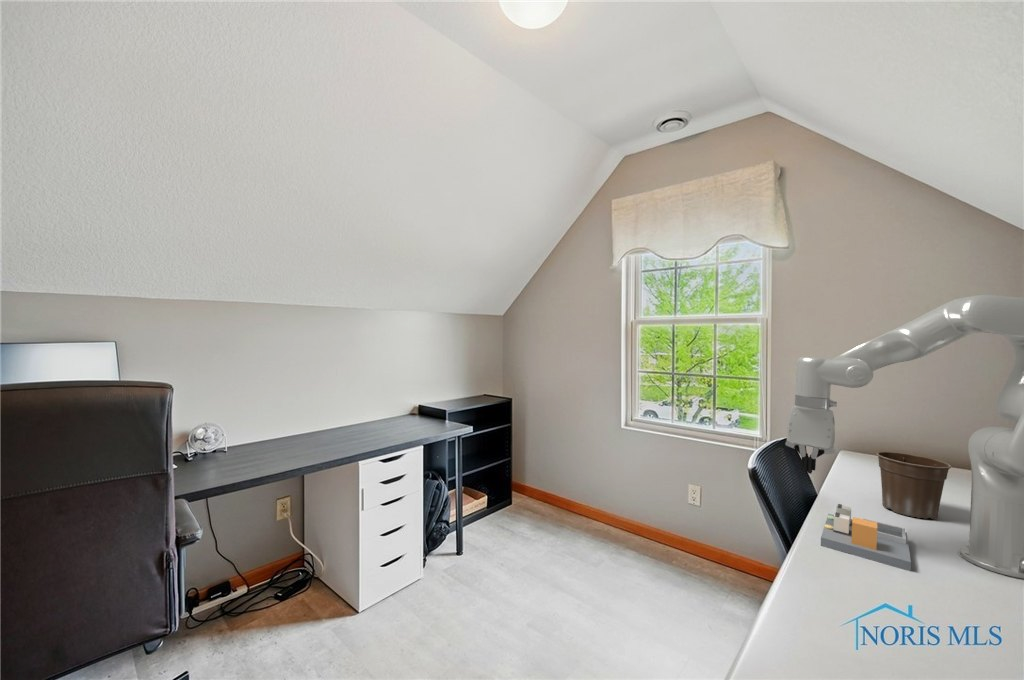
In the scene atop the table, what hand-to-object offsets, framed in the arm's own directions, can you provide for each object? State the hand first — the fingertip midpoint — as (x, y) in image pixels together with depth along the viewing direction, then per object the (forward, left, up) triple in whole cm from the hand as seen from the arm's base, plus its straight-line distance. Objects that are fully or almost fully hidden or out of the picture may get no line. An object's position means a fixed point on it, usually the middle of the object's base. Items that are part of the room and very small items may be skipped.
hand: (807, 471), depth 111 cm
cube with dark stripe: (-5, -5, -14) cm, 15 cm away
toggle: (0, -11, -14) cm, 17 cm away
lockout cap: (-12, -5, -14) cm, 18 cm away
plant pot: (+10, -44, -16) cm, 48 cm away
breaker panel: (-8, -9, -16) cm, 20 cm away
